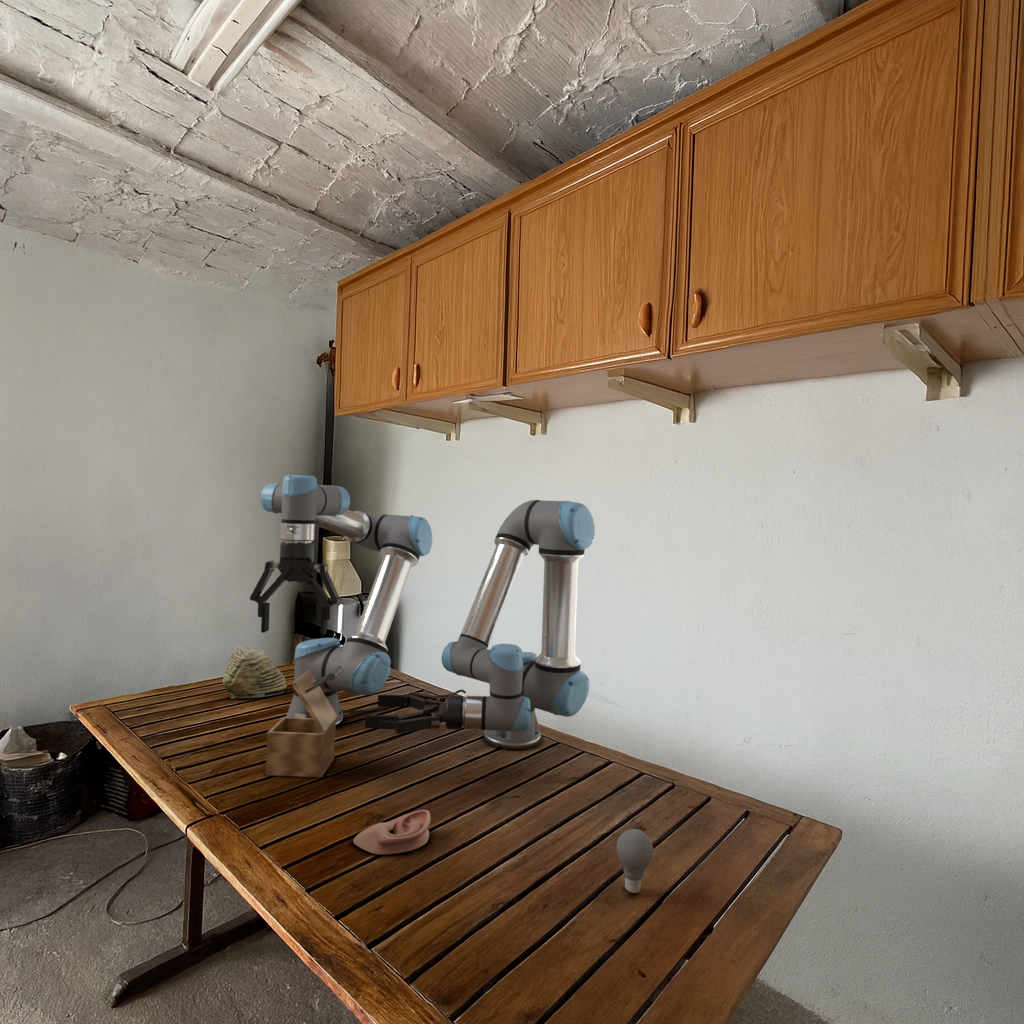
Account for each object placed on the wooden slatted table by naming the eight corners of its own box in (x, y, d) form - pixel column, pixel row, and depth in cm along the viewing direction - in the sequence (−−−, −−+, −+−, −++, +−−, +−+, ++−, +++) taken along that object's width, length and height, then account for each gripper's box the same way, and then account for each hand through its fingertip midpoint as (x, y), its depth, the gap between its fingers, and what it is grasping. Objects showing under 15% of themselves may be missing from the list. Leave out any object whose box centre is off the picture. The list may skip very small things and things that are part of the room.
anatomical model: (346, 827, 114) (372, 798, 125) (345, 849, 114) (372, 818, 125) (416, 839, 111) (436, 808, 122) (415, 861, 111) (436, 828, 123)
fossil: (218, 695, 195) (220, 647, 195) (278, 685, 208) (279, 640, 207) (228, 703, 189) (230, 653, 188) (289, 692, 201) (290, 645, 201)
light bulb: (610, 879, 108) (613, 822, 108) (644, 879, 109) (647, 822, 109) (619, 902, 102) (622, 840, 102) (655, 901, 103) (658, 840, 103)
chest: (265, 775, 143) (267, 732, 143) (282, 756, 153) (283, 716, 153) (321, 777, 143) (323, 734, 143) (334, 758, 153) (335, 719, 153)
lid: (291, 683, 142) (324, 664, 142) (306, 671, 153) (337, 653, 153) (321, 733, 143) (354, 714, 142) (334, 717, 153) (365, 699, 153)
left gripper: (236, 540, 143) (233, 633, 143) (347, 545, 143) (343, 638, 143) (250, 538, 151) (247, 627, 151) (355, 542, 151) (351, 631, 151)
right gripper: (458, 751, 134) (358, 749, 134) (467, 709, 159) (382, 707, 159) (459, 716, 134) (359, 714, 134) (467, 679, 159) (383, 678, 159)
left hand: (294, 632), depth 147 cm, fingers open, 13 cm apart
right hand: (371, 710), depth 147 cm, fingers open, 13 cm apart
